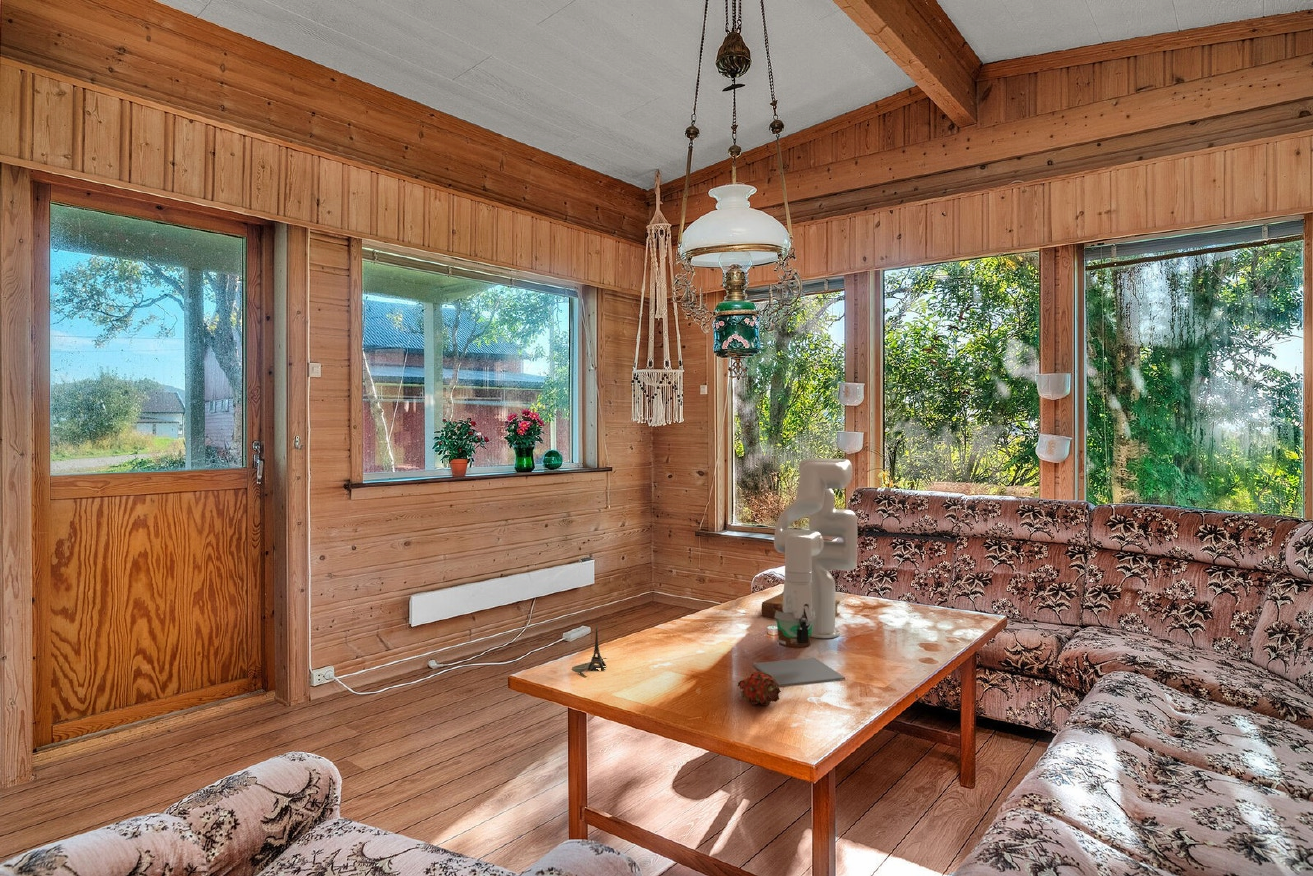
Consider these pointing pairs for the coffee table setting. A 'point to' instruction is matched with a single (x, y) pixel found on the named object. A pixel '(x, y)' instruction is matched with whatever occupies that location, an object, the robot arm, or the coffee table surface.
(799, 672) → the mat
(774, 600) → the brown flat wooden box
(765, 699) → the dragon fruit
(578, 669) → the eiffel tower figurine
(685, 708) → the coffee table surface
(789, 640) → the food container
